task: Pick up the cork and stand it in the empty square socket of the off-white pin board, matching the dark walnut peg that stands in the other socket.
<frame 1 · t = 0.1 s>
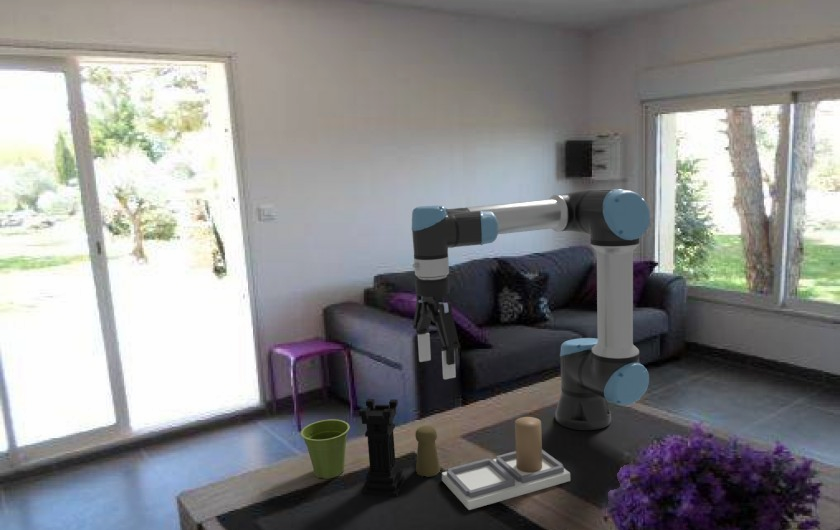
hand: (436, 369, 138), 28 cm above the table, tool pointing down, fingers open, 13 cm apart
pin board: (505, 480, 142), on the table
plant pot: (329, 472, 151), on the table
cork: (428, 471, 149), on the table
chess piece: (384, 487, 143), on the table
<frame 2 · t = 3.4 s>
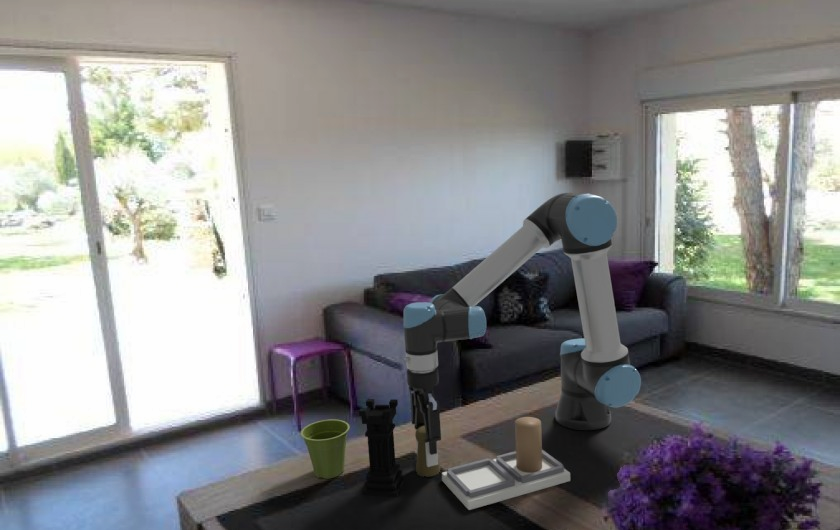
hand: (427, 459, 149), 3 cm above the table, tool pointing down, fingers closed on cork, 5 cm apart
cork: (428, 471, 149), on the table, touching gripper
everything else where it was.
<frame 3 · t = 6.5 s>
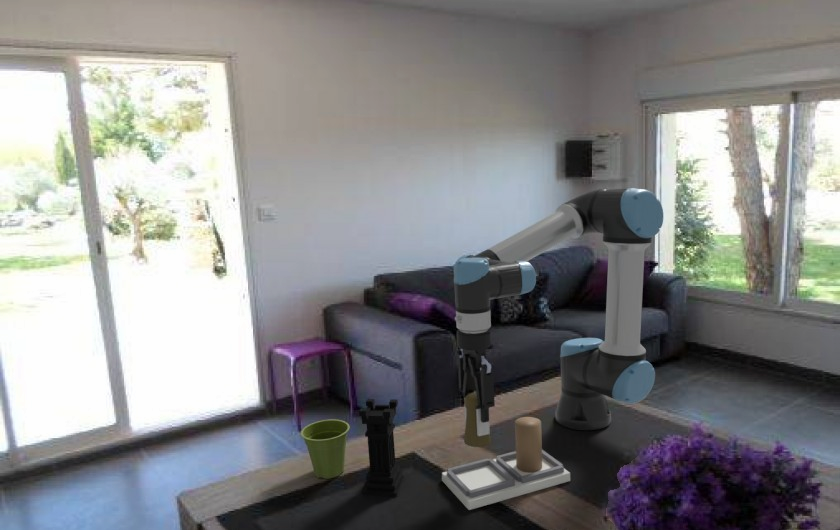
hand: (477, 429, 138), 14 cm above the table, tool pointing down, fingers closed on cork, 5 cm apart
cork: (477, 441, 138), point 11 cm above the table, touching gripper
everything else where it was.
when the fingers open (5 cm above the table, at t = 9.5 s): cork stays where it is, resting on pin board.
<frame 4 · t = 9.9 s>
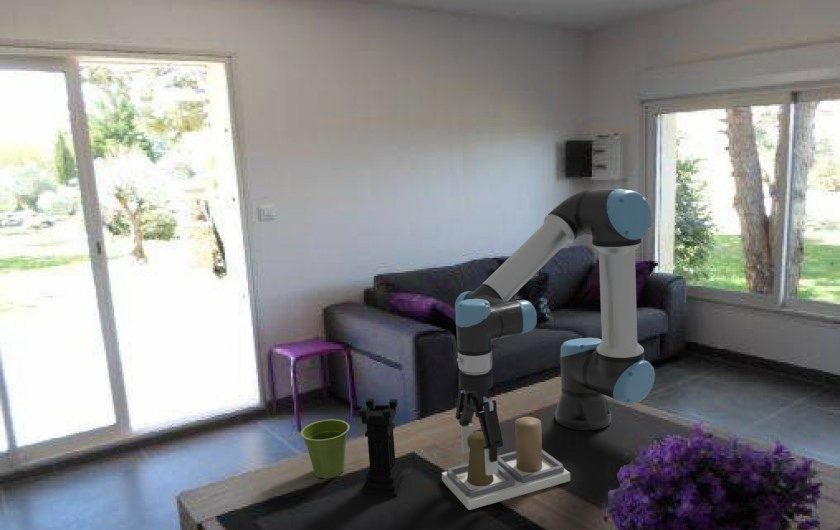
hand: (479, 462, 139), 6 cm above the table, tool pointing down, fingers open, 11 cm apart
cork: (480, 480, 140), point 2 cm above the table, touching pin board
everything else where it was.
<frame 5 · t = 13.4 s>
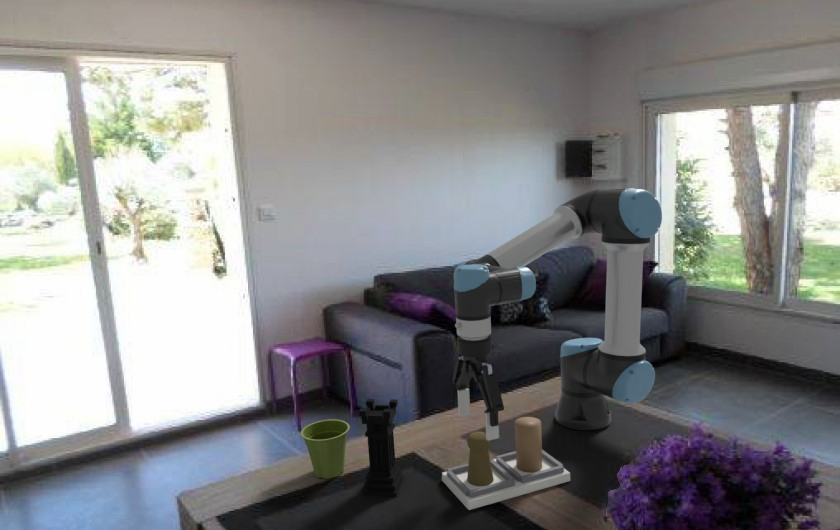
hand: (478, 427, 138), 15 cm above the table, tool pointing down, fingers open, 13 cm apart
nothing on the table moved.
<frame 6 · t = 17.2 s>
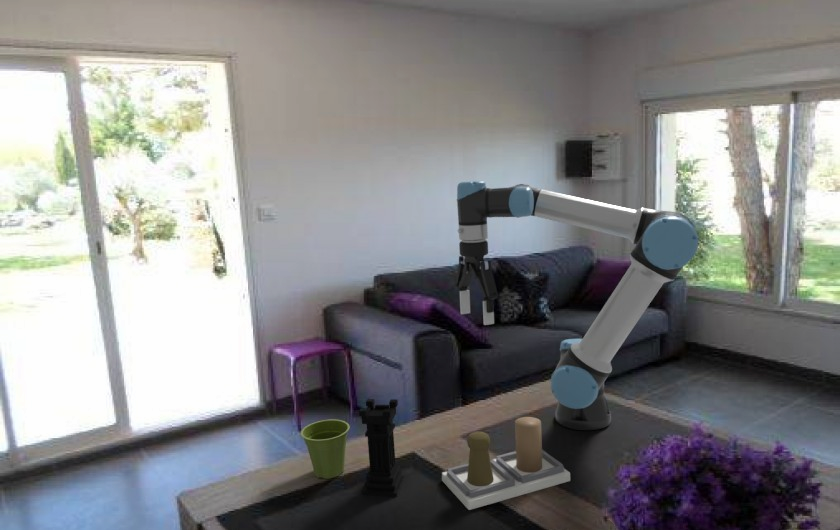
hand: (476, 318, 165), 32 cm above the table, tool pointing down, fingers open, 13 cm apart
nothing on the table moved.
at the end: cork 0.0 cm from the target spot on the pin board, point 1.8 cm above the pin board's base; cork tilted 0°; the gripper is holding nothing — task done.
